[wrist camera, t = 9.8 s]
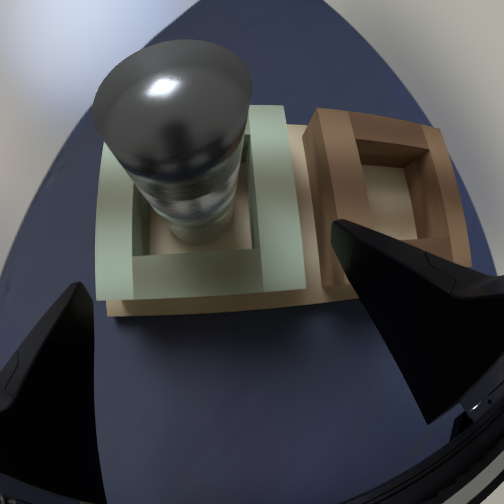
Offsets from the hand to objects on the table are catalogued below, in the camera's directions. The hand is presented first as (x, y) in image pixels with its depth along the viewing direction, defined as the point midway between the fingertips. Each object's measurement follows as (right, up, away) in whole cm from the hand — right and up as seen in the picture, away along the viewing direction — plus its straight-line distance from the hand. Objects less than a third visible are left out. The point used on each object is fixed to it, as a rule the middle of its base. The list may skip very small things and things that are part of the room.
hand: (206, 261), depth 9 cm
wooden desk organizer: (+4, +3, +9) cm, 10 cm away
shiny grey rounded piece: (-2, +3, +7) cm, 8 cm away
